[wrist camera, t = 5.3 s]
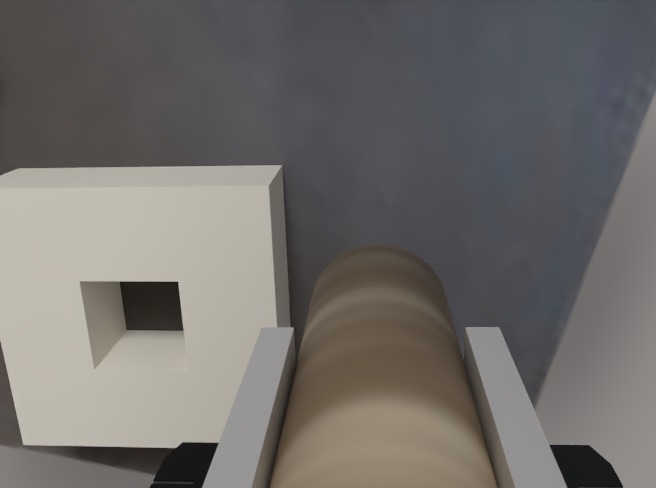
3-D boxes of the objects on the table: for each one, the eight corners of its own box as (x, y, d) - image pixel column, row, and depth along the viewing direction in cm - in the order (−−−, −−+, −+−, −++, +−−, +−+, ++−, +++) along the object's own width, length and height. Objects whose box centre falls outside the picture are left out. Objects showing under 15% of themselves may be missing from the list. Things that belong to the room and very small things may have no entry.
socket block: (18, 168, 37) (-33, 188, 33) (282, 165, 36) (268, 185, 32) (62, 398, 43) (23, 444, 38) (294, 402, 42) (284, 450, 37)
